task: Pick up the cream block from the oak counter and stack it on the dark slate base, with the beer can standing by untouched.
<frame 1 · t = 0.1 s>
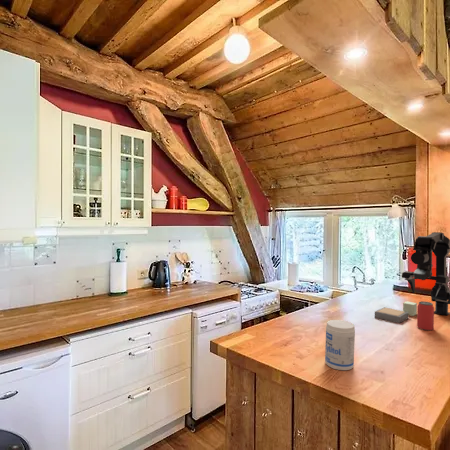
hand: (424, 294, 157), 15 cm above the worktop, fingers open, 9 cm apart
beer can: (425, 328, 152), on the worktop
slate base: (391, 317, 168), on the worktop
cream block: (409, 314, 175), on the worktop
supplement tub: (339, 365, 115), on the worktop
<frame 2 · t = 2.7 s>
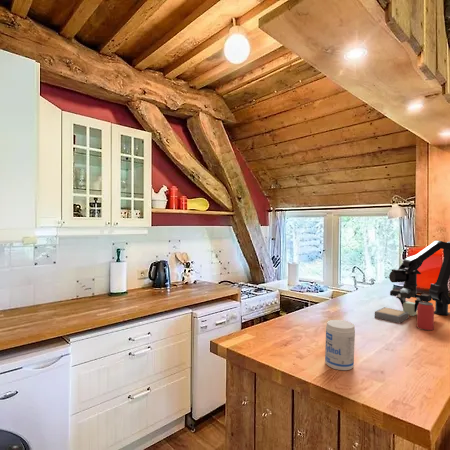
hand: (409, 311, 175), 2 cm above the worktop, fingers closed on cream block, 5 cm apart
cream block: (409, 314, 175), on the worktop, touching gripper
everything else where it was.
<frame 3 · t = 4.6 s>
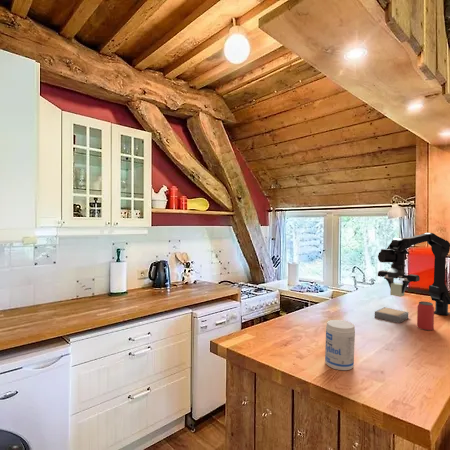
hand: (397, 292, 170), 13 cm above the worktop, fingers closed on cream block, 5 cm apart
cream block: (397, 295, 170), point 11 cm above the worktop, touching gripper
everything else where it was.
when the fingers open (6 cm above the worktop, at t = 6.5 s): cream block drops 1 cm, resting on slate base.
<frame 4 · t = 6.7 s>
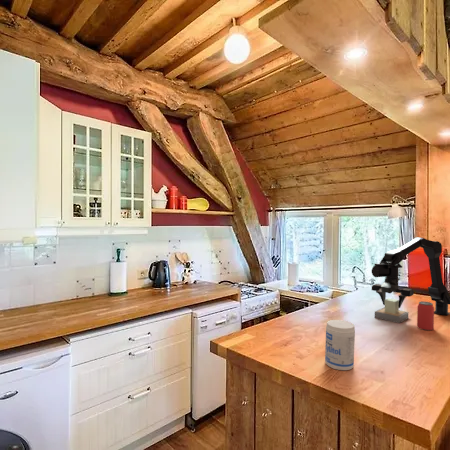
hand: (391, 306, 168), 6 cm above the worktop, fingers open, 7 cm apart
cream block: (391, 311, 168), point 3 cm above the worktop, touching slate base
everything else where it was.
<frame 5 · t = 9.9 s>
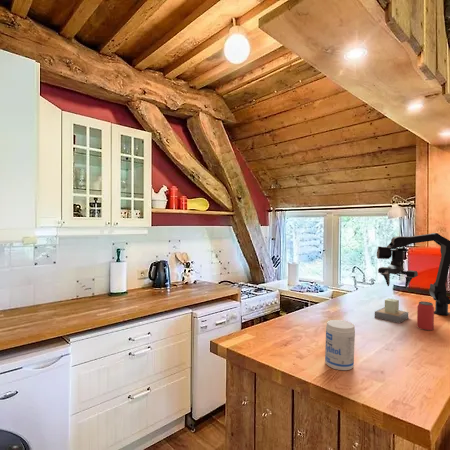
hand: (397, 287, 180), 13 cm above the worktop, fingers open, 9 cm apart
nothing on the worktop moved.
at the end: cream block inside the target area on the slate base (0.0 cm from its centre), point 3.1 cm above the slate base's base; cream block tilted 0°; the gripper is holding nothing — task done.
